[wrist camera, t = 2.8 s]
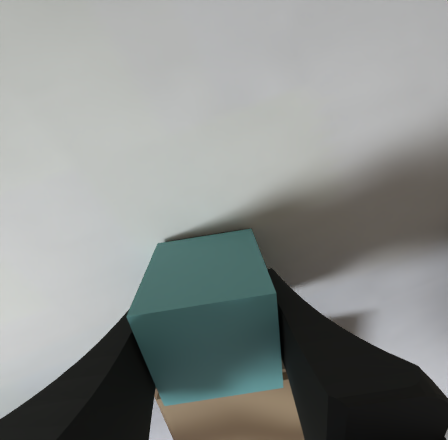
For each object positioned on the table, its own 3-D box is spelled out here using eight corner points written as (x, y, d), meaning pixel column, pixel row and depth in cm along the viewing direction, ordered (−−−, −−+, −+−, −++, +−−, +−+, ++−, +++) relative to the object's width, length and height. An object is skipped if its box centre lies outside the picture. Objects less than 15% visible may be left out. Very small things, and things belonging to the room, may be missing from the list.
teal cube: (259, 301, 14) (283, 387, 10) (179, 314, 14) (164, 406, 10) (251, 228, 12) (276, 293, 8) (157, 243, 12) (126, 316, 8)
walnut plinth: (319, 416, 20) (337, 464, 17) (193, 436, 20) (190, 486, 17) (322, 323, 16) (346, 367, 13) (160, 348, 16) (149, 397, 13)
